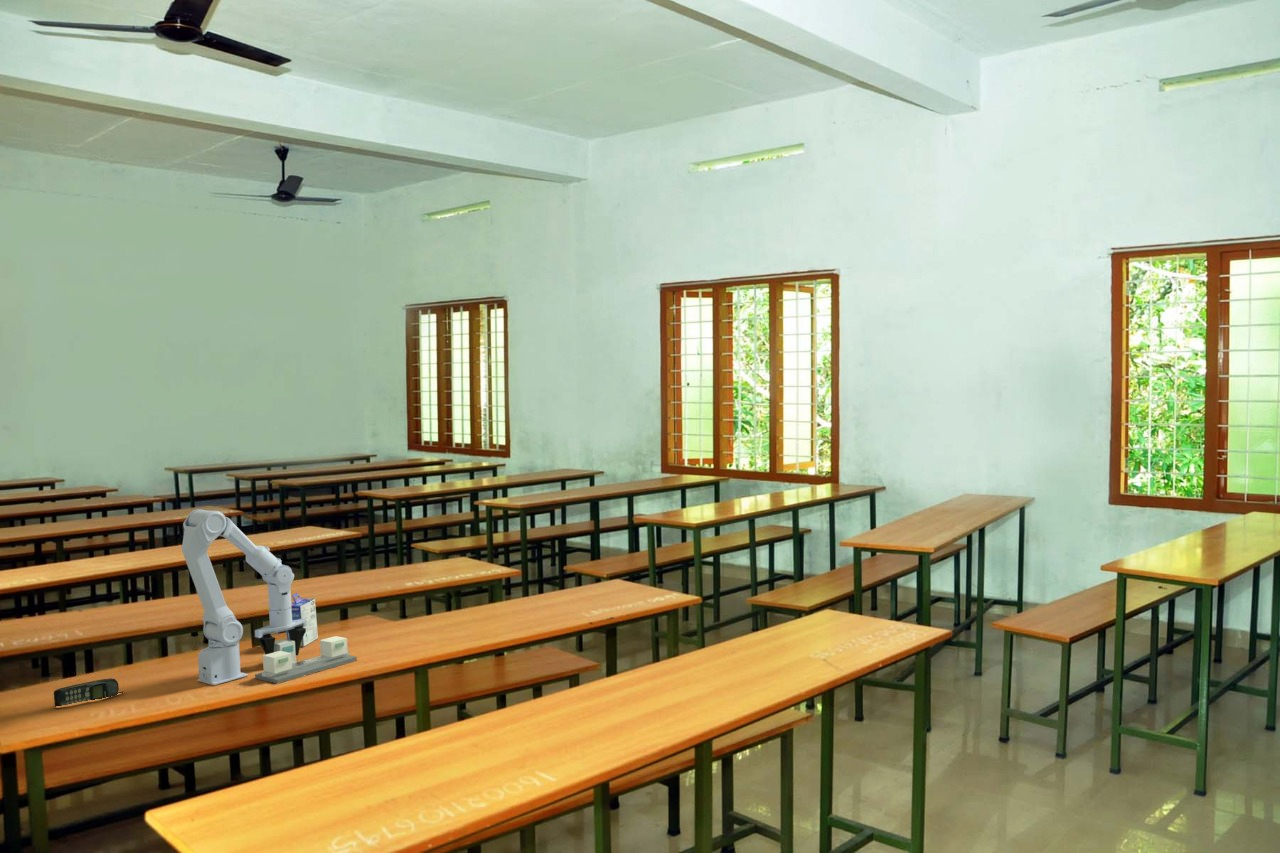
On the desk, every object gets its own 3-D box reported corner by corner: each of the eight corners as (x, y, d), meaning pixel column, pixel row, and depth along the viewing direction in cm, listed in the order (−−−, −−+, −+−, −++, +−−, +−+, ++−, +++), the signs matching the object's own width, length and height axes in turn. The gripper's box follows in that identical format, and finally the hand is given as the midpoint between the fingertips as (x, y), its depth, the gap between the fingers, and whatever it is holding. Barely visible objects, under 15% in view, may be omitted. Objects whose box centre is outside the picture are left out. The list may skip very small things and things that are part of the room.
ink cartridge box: (300, 638, 291) (298, 590, 291) (318, 638, 291) (316, 590, 290) (285, 647, 281) (282, 597, 281) (304, 647, 281) (301, 597, 280)
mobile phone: (53, 691, 230) (124, 676, 240) (52, 688, 233) (122, 673, 242) (55, 711, 231) (126, 696, 240) (54, 708, 233) (123, 693, 242)
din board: (277, 683, 245) (277, 679, 245) (255, 678, 251) (254, 674, 251) (356, 660, 264) (356, 656, 264) (334, 655, 270) (334, 652, 270)
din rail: (269, 678, 247) (269, 674, 247) (262, 676, 249) (261, 672, 249) (349, 655, 266) (349, 651, 266) (341, 653, 268) (341, 649, 268)
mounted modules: (275, 673, 247) (274, 658, 247) (263, 670, 250) (262, 655, 250) (348, 653, 264) (347, 638, 264) (336, 650, 268) (335, 636, 268)
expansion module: (281, 667, 261) (280, 644, 260) (270, 664, 264) (269, 642, 264) (296, 663, 264) (295, 641, 264) (285, 660, 267) (284, 638, 267)
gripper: (295, 601, 272) (297, 649, 272) (247, 612, 260) (250, 662, 261) (310, 604, 267) (313, 653, 268) (262, 615, 256) (265, 666, 256)
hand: (283, 658), depth 264 cm, fingers open, 7 cm apart
